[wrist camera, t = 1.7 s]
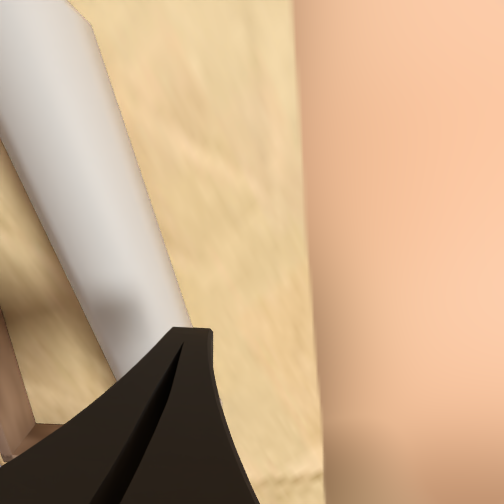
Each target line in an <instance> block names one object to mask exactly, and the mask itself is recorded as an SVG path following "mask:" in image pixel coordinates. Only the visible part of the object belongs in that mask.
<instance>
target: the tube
mask: <svg viewBox="0 0 504 504" xmlns="http://www.w3.org/2000/svg"><path fill="white" fill-rule="evenodd" d="M0 139H1V141H2V143H3V145H4V147H5V149H6V151H7V153H8V155H9V157H10V159H11V162H12V164H13V166H14V168H15V170H16V172H17V174H18V176H19V178H20V180H21V182H22V184H23V187H24V189H25V191H26V193H27V195H28V197H29V199H30V201H31V203H32V205H33V207H34V210H35V212H36V214H37V216H38V218H39V220H40V222H41V224H42V226H43V228H44V230H45V232H46V235H47V237H48V239H49V241H50V243H51V245H52V247H53V249H54V251H55V253H56V255H57V257H58V260H59V262H60V264H61V266H62V268H63V270H64V272H65V274H66V276H67V278H68V280H69V282H70V285H71V287H72V289H73V291H74V293H75V295H76V297H77V299H78V301H79V303H80V305H81V307H82V310H83V312H84V314H85V316H86V318H87V320H88V322H89V324H90V326H91V328H92V330H93V333H94V335H95V337H96V339H97V341H98V343H99V345H100V347H101V349H102V351H103V353H104V355H105V358H106V360H107V362H108V364H109V366H110V368H111V370H112V372H113V374H114V376H115V378H116V380H117V381H118V380H119V379H121V378H122V377H123V376H124V375H125V374H126V373H127V372H128V371H129V370H130V369H131V368H132V367H134V366H135V365H136V364H137V363H138V362H139V361H140V360H141V359H142V358H143V357H144V356H145V355H146V354H147V353H148V352H149V351H150V350H151V349H152V348H153V347H154V346H155V345H156V344H157V342H158V341H159V340H160V339H161V338H162V337H163V336H164V335H165V334H166V333H167V332H168V331H169V330H170V329H171V328H172V327H190V328H193V326H192V323H191V320H190V317H189V314H188V311H187V308H186V305H185V302H184V299H183V296H182V293H181V290H180V287H179V284H178V281H177V278H176V275H175V273H174V270H173V267H172V264H171V261H170V258H169V255H168V252H167V249H166V246H165V243H164V240H163V237H162V234H161V231H160V228H159V225H158V222H157V219H156V216H155V213H154V210H153V207H152V204H151V201H150V198H149V195H148V192H147V189H146V186H145V183H144V180H143V177H142V174H141V171H140V168H139V165H138V162H137V159H136V156H135V153H134V150H133V147H132V144H131V141H130V138H129V135H128V132H127V129H126V126H125V123H124V120H123V117H122V114H121V111H120V109H119V106H118V103H117V100H116V97H115V94H114V91H113V88H112V85H111V82H110V79H109V76H108V73H107V70H106V67H105V64H104V61H103V58H102V55H101V52H100V49H99V46H98V43H97V40H96V37H95V34H94V31H93V28H92V25H91V24H90V23H89V22H88V21H87V20H86V19H85V18H84V17H83V16H82V15H81V14H80V13H79V12H78V11H77V10H76V9H75V8H74V7H73V6H72V5H71V4H70V3H69V2H68V1H67V0H0ZM220 402H221V406H222V401H221V399H220Z"/></svg>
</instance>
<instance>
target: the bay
mask: <svg viewBox="0 0 504 504" xmlns="http://www.w3.org/2000/svg"><path fill="white" fill-rule="evenodd" d="M61 426H63V425H53V424H36V423H35V419H34V416H33V413H32V409H31V406H30V403H29V400H28V396H27V393H26V390H25V386H24V383H23V380H22V377H21V373H20V370H19V367H18V363H17V360H16V357H15V354H14V350H13V347H12V344H11V340H10V337H9V334H8V331H7V327H6V324H5V321H4V317H3V314H2V311H1V308H0V453H1V456H2V459H3V461H4V462H9V461H11V460H12V459H14V458H15V457H17V456H19V455H20V454H22V453H23V452H25V451H26V450H28V449H29V448H31V447H32V446H33V445H35V444H36V443H38V442H39V441H41V440H42V439H44V438H45V437H47V436H48V435H50V434H51V433H53V432H54V431H55V430H57V429H58V428H60V427H61Z"/></svg>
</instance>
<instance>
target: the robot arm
mask: <svg viewBox="0 0 504 504" xmlns="http://www.w3.org/2000/svg"><path fill="white" fill-rule="evenodd" d="M0 504H260V503H259V501H258V499H257V497H256V495H255V493H254V490H253V488H252V486H251V484H250V482H249V479H248V477H247V474H246V472H245V470H244V467H243V465H242V462H241V460H240V458H239V455H238V453H237V451H236V448H235V445H234V442H233V440H232V437H231V434H230V431H229V428H228V425H227V422H226V419H225V416H224V413H223V409H222V406H221V402H220V398H219V394H218V390H217V386H216V381H215V376H214V370H213V331H212V330H211V329H210V328H190V327H172V328H171V329H170V330H169V331H168V332H167V333H166V334H165V335H164V336H163V337H162V338H161V339H160V340H159V341H158V342H157V344H156V345H155V346H154V347H153V348H152V349H151V350H150V351H149V352H148V353H147V354H146V355H145V356H144V357H143V358H142V359H141V360H140V361H139V362H138V363H137V364H136V365H135V366H134V367H132V368H131V369H130V370H129V371H128V372H127V373H126V374H125V375H124V376H123V377H122V378H121V379H119V380H118V381H117V382H116V383H115V384H114V385H113V386H112V387H110V388H109V389H108V390H107V391H106V392H105V393H104V394H102V395H101V396H100V397H99V398H98V399H96V400H95V401H94V402H93V403H92V404H90V405H89V406H88V407H87V408H85V409H84V410H83V411H81V412H80V413H79V414H77V415H76V416H75V417H74V418H72V419H71V420H70V421H68V422H67V423H66V424H64V425H63V426H61V427H60V428H58V429H57V430H55V431H54V432H53V433H51V434H50V435H48V436H47V437H45V438H44V439H42V440H41V441H39V442H38V443H36V444H35V445H33V446H32V447H31V448H29V449H28V450H26V451H25V452H23V453H22V454H20V455H19V456H17V457H15V458H14V459H12V460H11V461H9V462H7V463H6V464H4V465H3V466H0Z"/></svg>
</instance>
